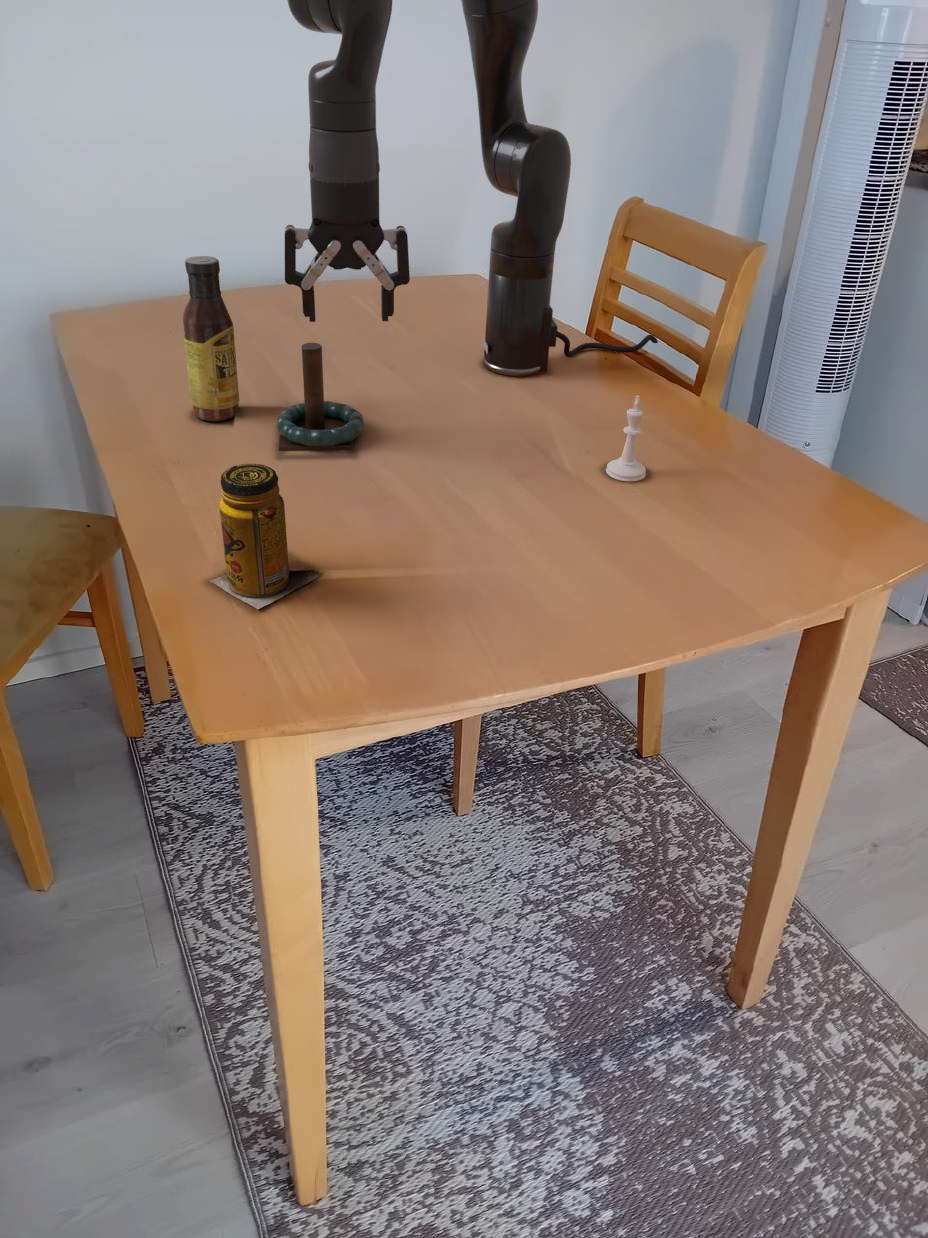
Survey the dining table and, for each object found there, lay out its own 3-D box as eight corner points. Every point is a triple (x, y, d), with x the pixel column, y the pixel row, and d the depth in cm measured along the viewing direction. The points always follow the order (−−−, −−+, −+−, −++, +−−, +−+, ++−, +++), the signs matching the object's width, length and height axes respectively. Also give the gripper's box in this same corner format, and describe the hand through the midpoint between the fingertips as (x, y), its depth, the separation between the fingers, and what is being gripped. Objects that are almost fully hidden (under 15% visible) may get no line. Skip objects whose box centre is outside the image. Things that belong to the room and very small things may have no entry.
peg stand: (350, 426, 128) (348, 332, 121) (352, 456, 121) (350, 359, 114) (281, 427, 127) (274, 332, 120) (279, 457, 120) (272, 359, 113)
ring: (361, 412, 128) (361, 398, 127) (366, 448, 120) (365, 433, 119) (278, 413, 127) (277, 398, 126) (276, 449, 118) (275, 434, 117)
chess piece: (648, 468, 122) (661, 392, 117) (641, 484, 118) (654, 407, 113) (610, 460, 123) (621, 385, 118) (601, 477, 120) (612, 400, 114)
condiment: (209, 582, 97) (195, 473, 90) (275, 550, 102) (267, 445, 95) (257, 611, 93) (247, 500, 86) (323, 577, 99) (318, 469, 92)
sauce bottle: (229, 426, 127) (213, 269, 115) (184, 420, 127) (164, 264, 116) (248, 407, 132) (235, 255, 120) (205, 401, 133) (188, 250, 121)
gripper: (406, 166, 110) (406, 309, 120) (279, 163, 108) (288, 309, 118) (412, 180, 104) (411, 330, 114) (277, 178, 102) (287, 330, 112)
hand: (348, 319), depth 116 cm, fingers open, 8 cm apart
